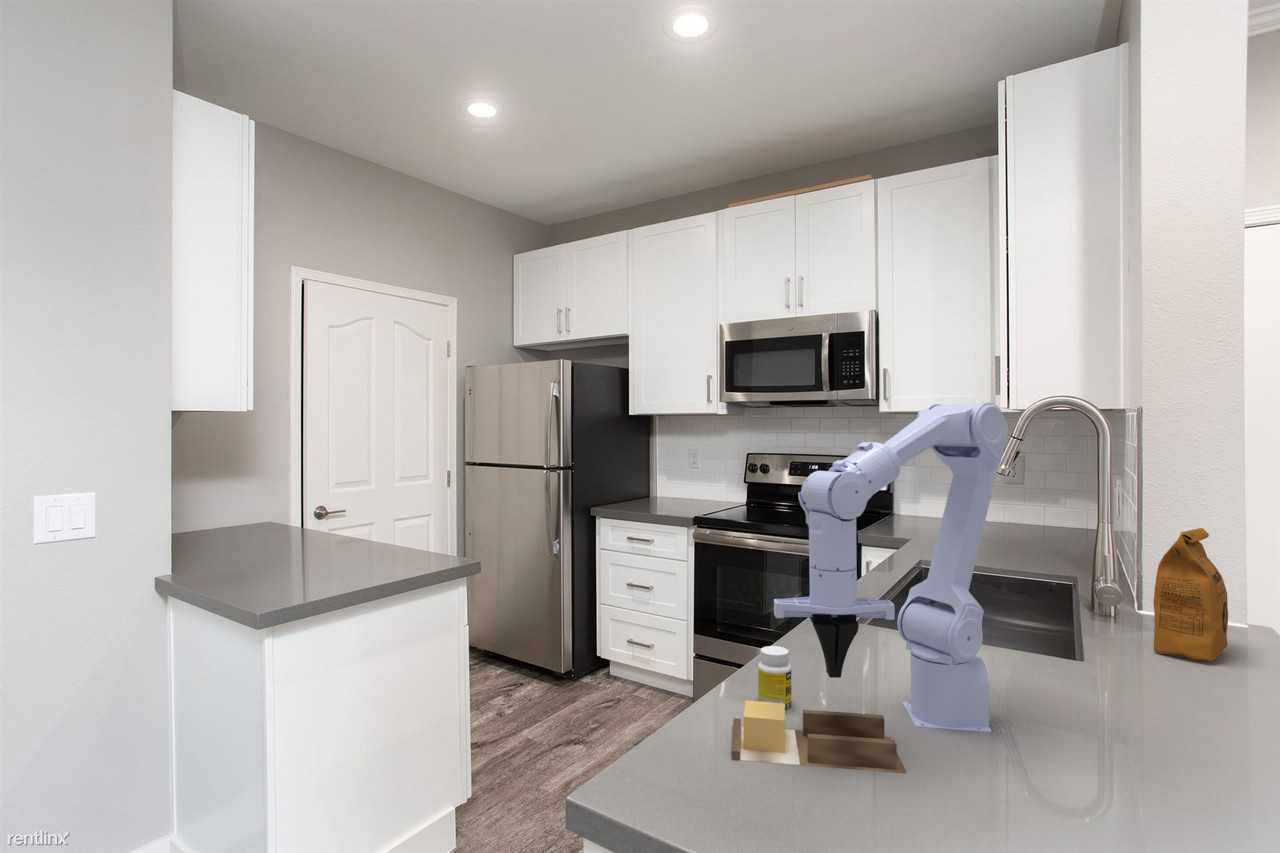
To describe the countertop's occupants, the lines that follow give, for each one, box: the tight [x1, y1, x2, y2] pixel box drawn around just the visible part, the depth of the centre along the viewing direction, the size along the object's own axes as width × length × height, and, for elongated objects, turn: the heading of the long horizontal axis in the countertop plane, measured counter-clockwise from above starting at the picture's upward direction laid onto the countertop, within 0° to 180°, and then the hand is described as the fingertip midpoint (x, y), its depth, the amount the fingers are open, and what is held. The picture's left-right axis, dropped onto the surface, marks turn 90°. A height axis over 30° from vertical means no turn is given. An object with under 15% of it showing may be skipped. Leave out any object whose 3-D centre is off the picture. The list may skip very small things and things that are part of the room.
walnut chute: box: [731, 709, 908, 774], centre depth 82 cm, size 20×9×4 cm, turn 81°
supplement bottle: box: [757, 645, 792, 713], centre depth 94 cm, size 5×5×8 cm
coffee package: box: [1153, 527, 1229, 662], centre depth 117 cm, size 10×12×22 cm
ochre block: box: [743, 700, 786, 753], centre depth 83 cm, size 5×5×4 cm
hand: (833, 674), depth 82 cm, fingers closed
